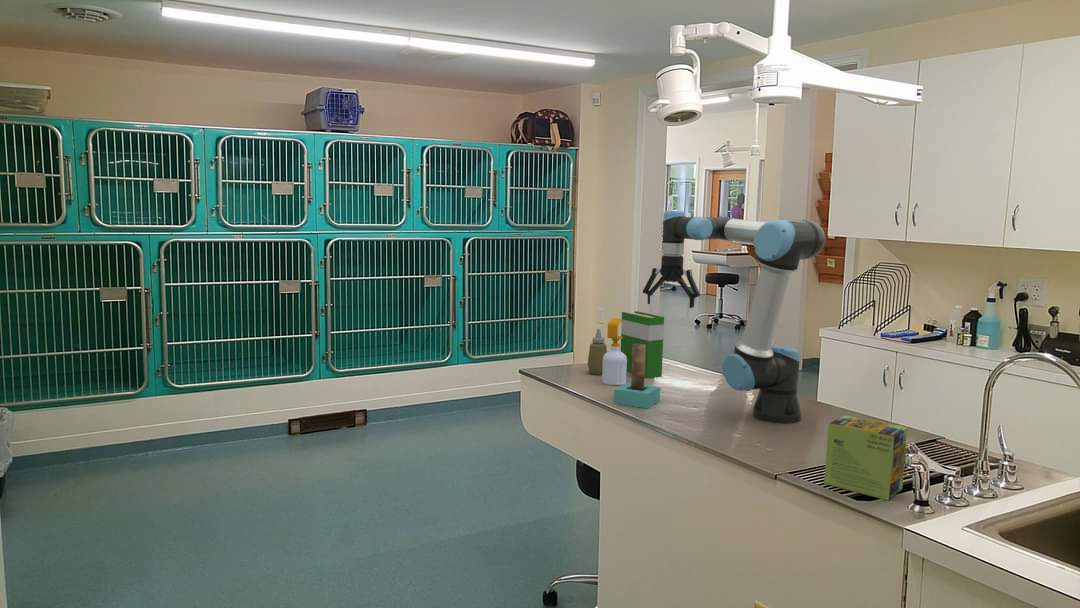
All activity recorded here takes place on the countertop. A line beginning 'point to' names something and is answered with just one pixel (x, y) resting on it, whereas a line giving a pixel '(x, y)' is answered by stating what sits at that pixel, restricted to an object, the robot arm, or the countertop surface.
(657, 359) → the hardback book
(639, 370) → the dowel
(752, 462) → the countertop surface
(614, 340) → the soap bottle
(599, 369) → the squeeze bottle
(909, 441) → the countertop surface
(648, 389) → the socket
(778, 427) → the countertop surface
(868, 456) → the protein box
